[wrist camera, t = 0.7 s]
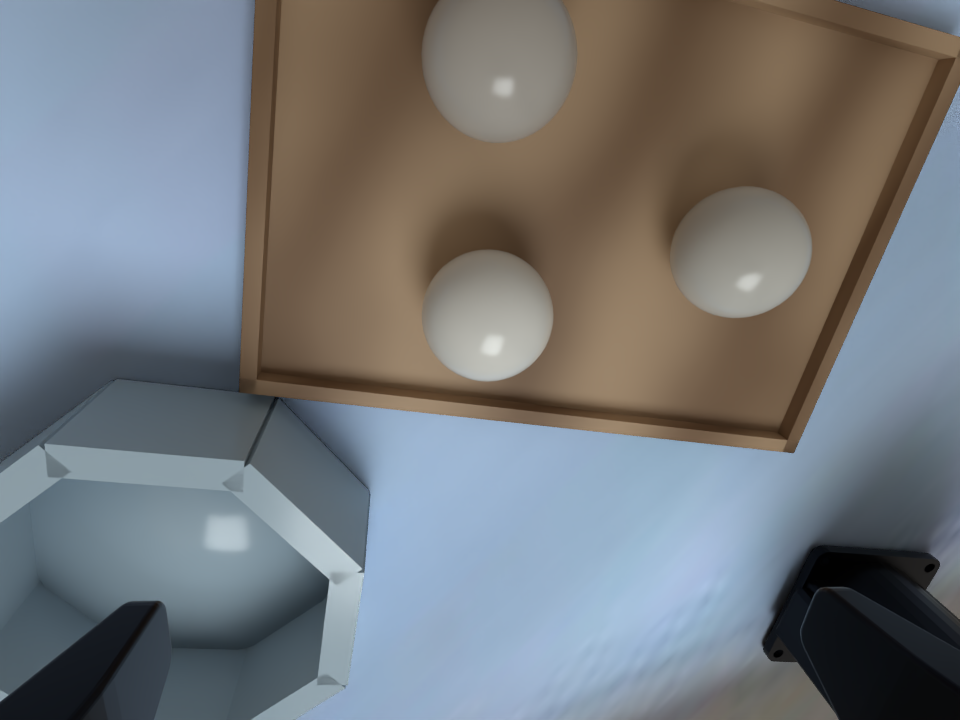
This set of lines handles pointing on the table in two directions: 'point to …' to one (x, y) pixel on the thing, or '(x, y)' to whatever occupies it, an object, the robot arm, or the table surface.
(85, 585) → the bowl
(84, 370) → the table surface
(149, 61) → the table surface
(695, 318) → the tray
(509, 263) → the white ball
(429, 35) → the pebble
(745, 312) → the pebble
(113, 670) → the robot arm
